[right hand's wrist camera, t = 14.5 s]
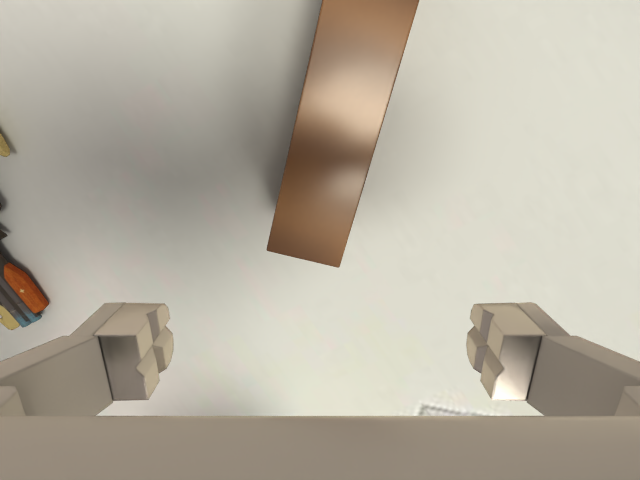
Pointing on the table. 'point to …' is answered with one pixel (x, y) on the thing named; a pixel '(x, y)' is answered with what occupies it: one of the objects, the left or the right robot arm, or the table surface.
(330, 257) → the bar
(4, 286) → the toy gun
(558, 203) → the table surface
